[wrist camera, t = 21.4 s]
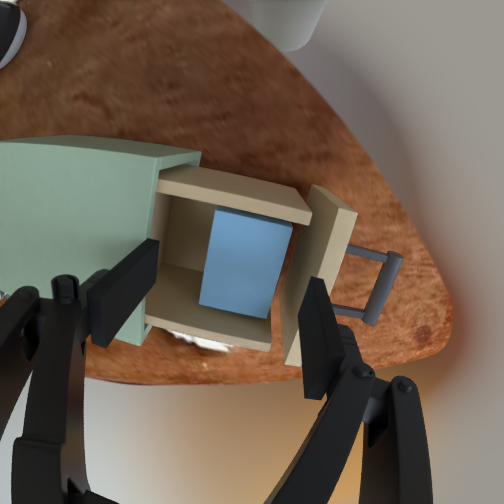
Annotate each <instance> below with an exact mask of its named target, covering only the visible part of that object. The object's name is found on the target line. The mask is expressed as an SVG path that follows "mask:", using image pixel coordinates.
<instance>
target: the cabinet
mask: <svg viewBox="0 0 504 504" xmlns="http://www.w3.org/2000/svg"><path fill="white" fill-rule="evenodd" d="M201 153H202V152H201V151H197V150H192V149H186V148H180V147H174V146H167V145H161V144H154V143H147V142H139V141H132V140H123V139H115V138H105V137H95V136H83V135H56V136H41V137H29V138H19V139H10V140H2V141H0V290H1V291H3V292H5V293H7V294H9V295H12V294H13V293H14V292H15V291H16V290H17V289H18V288H20V287H23V286H34V287H36V288H37V289H38V290H39V295H40V297H42V298H49V299H53V295H52V288H51V280H52V279H53V278H54V277H56V276H58V275H62V274H70V275H74V276H76V277H77V278H78V279H79V285H81V284H82V283H83V282H84V281H86V279H88V278H89V277H90V276H91V275H92V274H94V273H95V272H96V271H99V270H101V269H104V268H105V269H108V270H111V269H112V268H113V267H114V266H115V265H116V264H118V263H119V262H120V261H121V260H122V259H123V258H125V257H126V256H127V255H128V254H129V253H130V252H132V251H133V250H134V249H135V248H136V247H138V246H139V245H140V244H141V243H142V242H144V241H145V240H146V239H147V238H150V234H151V225H152V217H153V209H154V202H155V194H156V188H157V181H158V175H159V170H162V169H166V168H170V167H173V166H177V165H181V164H187V165H192V166H197V167H199V163H200V158H201ZM144 320H145V297H144V298H143V300H142V301H141V302H140V304H139V305H138V306H137V308H136V309H135V310H134V311H133V313H132V314H131V315H130V317H129V318H128V319H127V321H126V322H125V323H124V325H123V326H122V327H121V329H120V330H119V332H118V333H117V334H116V336H115V337H114V338H116V339H119V340H122V341H125V342H128V343H131V344H134V345H138V346H141V345H142V343H143V341H144V339H145V338H146V336H147V334H148V332H149V331H150V329H151V327H152V325H150V324H146V323H144Z"/></svg>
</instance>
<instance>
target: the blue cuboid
mask: <svg viewBox="0 0 504 504" xmlns="http://www.w3.org/2000/svg"><path fill="white" fill-rule="evenodd" d="M292 230H293V227H292V224H291V221H287V220H283V219H279V218H274V217H270V216H266V215H262V214H257V213H253V212H249V211H244V210H240V209H235V208H231V207H226V206H222V205H219V206H218V207H217V209H216V210H215V214H214V219H213V224H212V229H211V235H210V240H209V246H208V251H207V257H206V262H205V268H204V274H203V280H202V286H201V292H200V298H199V304H200V305H205V306H209V307H213V308H218V309H222V310H226V311H231V312H235V313H240V314H245V315H249V316H254V317H259V318H264V319H267V316H268V312H269V309H270V306H271V302H272V299H273V296H274V292H275V289H276V286H277V282H278V279H279V275H280V272H281V268H282V265H283V261H284V258H285V255H286V251H287V247H288V244H289V240H290V237H291V233H292Z"/></svg>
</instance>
